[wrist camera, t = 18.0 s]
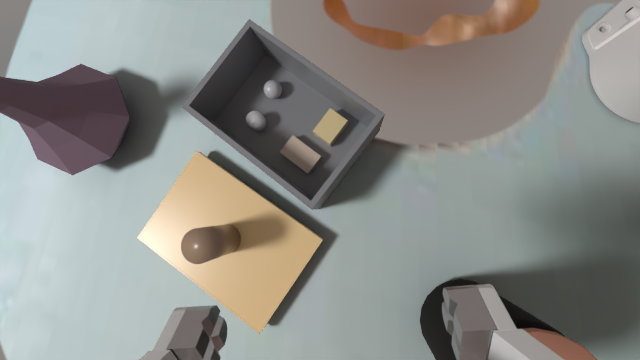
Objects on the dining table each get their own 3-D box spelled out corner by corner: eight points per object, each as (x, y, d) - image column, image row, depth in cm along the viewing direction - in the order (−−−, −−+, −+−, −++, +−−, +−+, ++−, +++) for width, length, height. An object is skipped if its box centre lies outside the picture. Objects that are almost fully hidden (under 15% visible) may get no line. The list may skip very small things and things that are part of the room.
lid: (205, 154, 47) (162, 138, 36) (324, 237, 44) (315, 247, 33) (149, 236, 46) (89, 244, 36) (265, 326, 43) (236, 364, 33)
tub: (266, 51, 47) (249, 19, 39) (379, 131, 44) (384, 114, 36) (210, 124, 47) (181, 106, 39) (319, 209, 44) (311, 209, 36)
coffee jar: (407, 343, 41) (450, 448, 23) (431, 266, 41) (489, 310, 24) (489, 374, 39) (601, 511, 22) (512, 293, 40) (640, 362, 22)
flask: (58, 78, 50) (-134, -6, 30) (152, 73, 48) (13, -19, 29) (50, 178, 49) (-157, 158, 29) (146, 177, 47) (-4, 155, 27)
